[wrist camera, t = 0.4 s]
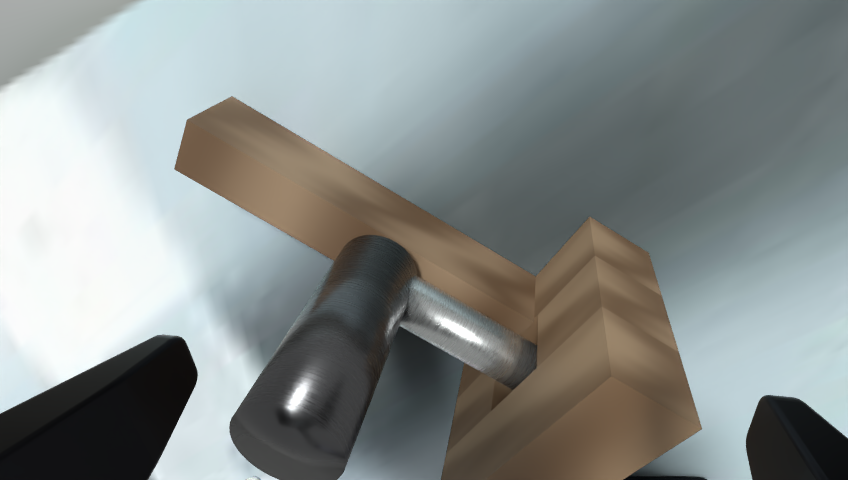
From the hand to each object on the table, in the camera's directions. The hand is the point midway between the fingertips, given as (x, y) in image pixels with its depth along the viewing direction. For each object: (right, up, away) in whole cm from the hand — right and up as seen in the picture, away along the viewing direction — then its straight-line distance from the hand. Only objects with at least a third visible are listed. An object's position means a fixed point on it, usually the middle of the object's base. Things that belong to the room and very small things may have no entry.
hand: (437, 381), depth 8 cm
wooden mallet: (-1, +3, +15) cm, 15 cm away
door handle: (+2, -1, +13) cm, 13 cm away
